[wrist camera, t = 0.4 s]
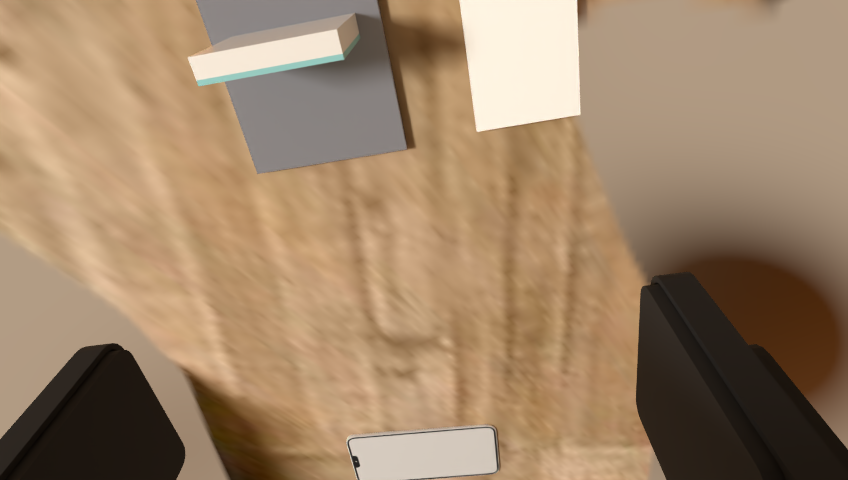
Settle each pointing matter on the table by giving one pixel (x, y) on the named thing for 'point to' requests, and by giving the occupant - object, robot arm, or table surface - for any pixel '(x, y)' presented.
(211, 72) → the tile
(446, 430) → the smartphone
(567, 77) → the pad
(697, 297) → the robot arm
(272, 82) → the mat
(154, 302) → the table surface
